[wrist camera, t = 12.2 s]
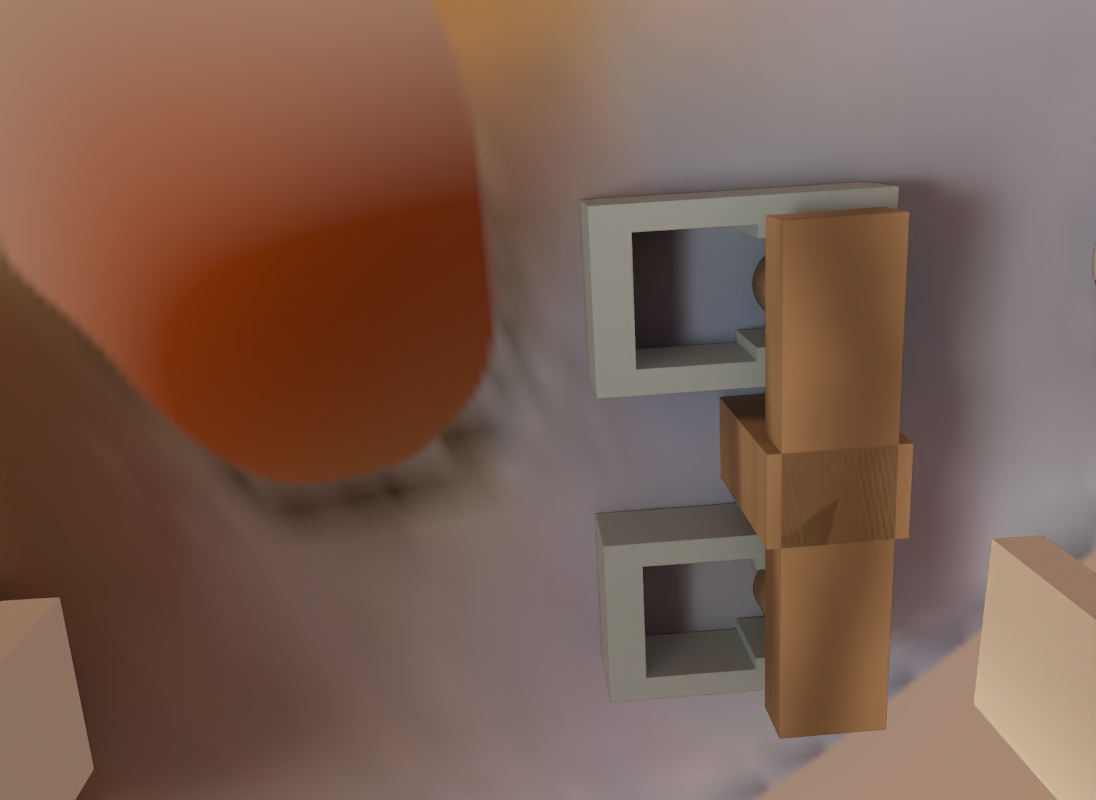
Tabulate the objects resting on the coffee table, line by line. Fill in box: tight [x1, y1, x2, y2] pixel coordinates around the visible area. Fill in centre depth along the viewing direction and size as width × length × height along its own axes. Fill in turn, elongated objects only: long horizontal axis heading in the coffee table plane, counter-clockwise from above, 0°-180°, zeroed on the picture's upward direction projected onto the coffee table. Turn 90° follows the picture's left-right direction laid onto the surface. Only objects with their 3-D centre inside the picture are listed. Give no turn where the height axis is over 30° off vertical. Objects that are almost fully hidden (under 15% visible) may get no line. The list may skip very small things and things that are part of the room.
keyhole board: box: [580, 182, 899, 702], centre depth 36 cm, size 11×20×3 cm, turn 3°
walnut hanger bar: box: [720, 207, 913, 739], centre depth 35 cm, size 5×19×7 cm, turn 4°
